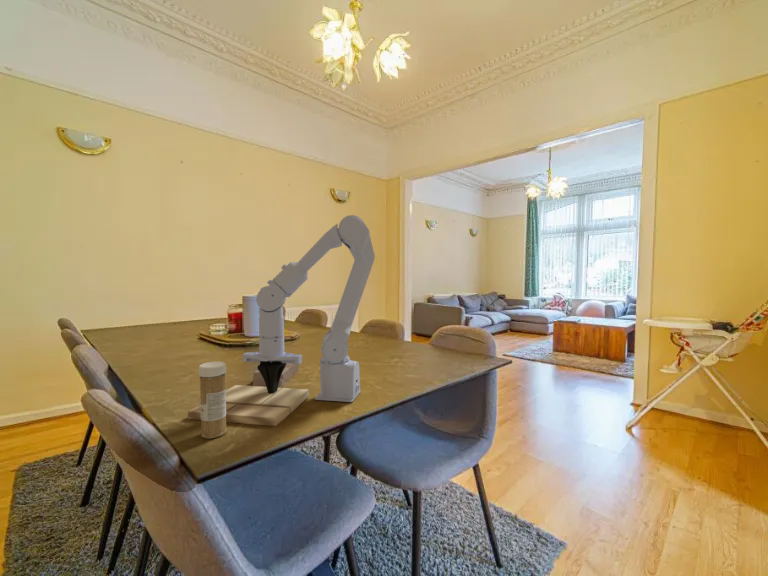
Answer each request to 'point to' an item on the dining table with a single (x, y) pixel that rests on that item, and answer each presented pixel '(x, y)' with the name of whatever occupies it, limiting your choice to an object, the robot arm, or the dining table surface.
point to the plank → (267, 396)
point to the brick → (286, 375)
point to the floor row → (249, 413)
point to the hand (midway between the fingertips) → (272, 392)
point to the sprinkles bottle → (212, 399)
